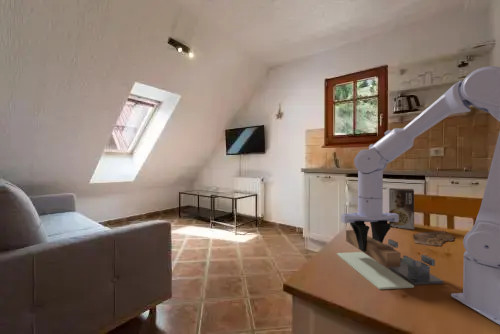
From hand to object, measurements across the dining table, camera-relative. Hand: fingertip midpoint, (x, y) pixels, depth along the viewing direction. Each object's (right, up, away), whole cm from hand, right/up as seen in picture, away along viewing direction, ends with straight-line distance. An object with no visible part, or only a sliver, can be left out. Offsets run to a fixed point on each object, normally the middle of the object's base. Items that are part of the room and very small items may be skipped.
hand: (369, 249), depth 62 cm
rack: (+9, -5, +1) cm, 10 cm away
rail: (0, -1, 0) cm, 1 cm away
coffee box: (+34, -4, +41) cm, 53 cm away
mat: (0, -5, 0) cm, 5 cm away
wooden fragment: (+36, -5, +26) cm, 45 cm away
